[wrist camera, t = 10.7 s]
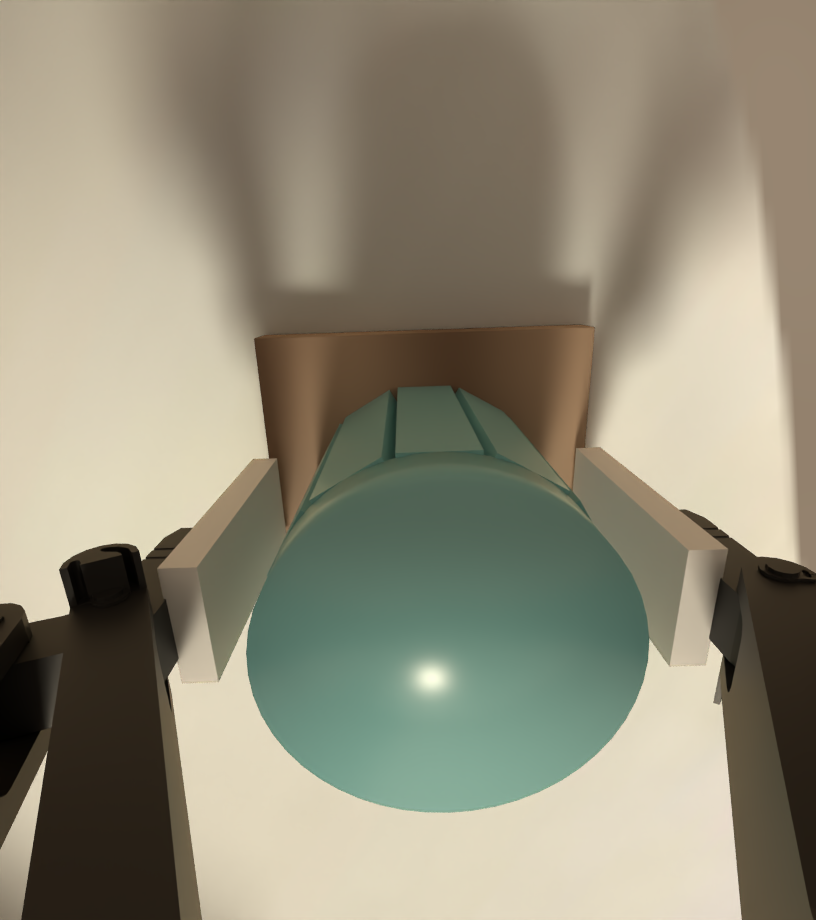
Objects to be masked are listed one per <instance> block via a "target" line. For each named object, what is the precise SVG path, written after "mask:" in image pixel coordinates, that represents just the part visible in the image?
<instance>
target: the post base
mask: <svg viewBox="0 0 816 920" xmlns="http://www.w3.org/2000/svg"><path fill="white" fill-rule="evenodd" d="M594 331H595V327H590V326H585V325H557V326H527V327H497V328H467V329H437V330H407V331H377V332H346V333H316V334H286V335H264V336H261V337H258V338H255V339H254V342H255V350H256V358H257V366H258V373H259V381H260V389H261V397H262V405H263V413H264V421H265V429H266V437H267V445H268V453H269V459H273V458H277V462H278V470H279V479H280V487H281V495H282V503H283V512H284V520H285V528H286V534H287V531H288V529H289V527H290V525H291V523H292V521H293V519H294V517H295V514H296V512H297V510H298V508H299V506H300V504H301V502H302V500H303V498H304V495H305V493H306V491H307V489H308V487H309V485H310V483H311V481H312V478H313V476H314V474H315V472H316V470H317V468H318V466H319V464H320V462H321V460H322V458H323V456H324V454H325V452H326V450H327V448H328V446H329V444H330V442H331V440H332V438H333V436H334V434H335V432H336V430H337V428H338V426H339V424H343V422H344V420H345V418H346V417H347V416H348V415H350V414H352V413H353V412H355V411H356V410H358V409H360V408H361V407H363V406H364V405H366V404H368V403H369V402H371V401H372V400H374V399H376V398H377V397H379V396H380V395H382V394H384V393H385V392H387V391H388V390H390V392H391V393H392V395H393V396H394V398H395V399H396V401H397V394H398V387H423V386H451V388H452V390H453V391H454V393H455V394H456V392H457V390H458V388H461V389H463V390H464V391H466V392H468V393H470V394H472V395H474V396H476V397H477V398H479V399H481V400H483V401H485V402H487V403H489V404H490V405H492V406H494V407H496V408H498V409H500V410H502V411H503V412H504V413H505V414H506V415H507V416H508V417H510V418H511V420H512V421H513V422H514V423H515V424H516V425H517V427H518V428H519V429H520V430H521V431H522V433H523V434H524V435H525V436H526V437H527V438H528V440H529V441H530V442H531V443H532V444H533V445H534V447H535V448H536V449H537V450H538V451H539V452H540V454H541V455H542V456H543V457H544V458H545V460H546V461H547V462H548V463H549V464H550V465H551V467H552V468H553V469H554V470H555V471H556V472H557V474H558V475H559V476H560V477H561V478H562V479H563V481H564V482H565V483H566V484H567V485H568V487H569V488H570V489H571V490H572V491H573V481H574V469H575V456H576V448H585V437H586V425H587V414H588V402H589V390H590V378H591V366H592V354H593V343H594Z"/></svg>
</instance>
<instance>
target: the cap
mask: <svg viewBox="0 0 816 920" xmlns="http://www.w3.org/2000/svg"><path fill="white" fill-rule="evenodd" d="M267 576H268V577H267V579H266V581H265V583H264V585H263V587H262V590H261V592H260V594H259V597H258V599H257V602H256V604H255V606H254V609H253V613H252V617H251V621H250V625H249V629H248V638H247V651H246V655H247V667H248V676H249V680H250V684H251V689H252V693H253V696H254V699H255V701H256V703H257V706H258V708H259V711H260V713H261V715H262V717H263V719H264V720H265V722H266V724H267V725H268V727H269V729H270V730H271V732H272V734H273V735H274V736H275V737H276V739H277V740H278V741H279V742H280V744H281V745H282V746H283V747H284V749H285V750H286V751H287V752H288V753H289V754H290V755H291V756H292V757H294V758H295V759H296V760H297V761H298V762H299V763H300V764H301V765H302V766H303V767H305V768H306V769H307V770H309V771H310V772H311V773H313V774H314V775H316V776H317V777H318V778H320V779H321V780H323V781H325V782H327V783H328V784H330V785H332V786H334V787H335V788H337V789H339V790H341V791H344V792H346V793H348V794H350V795H353V796H355V797H357V798H360V799H363V800H366V801H369V802H373V803H376V804H379V805H383V806H387V807H392V808H397V809H402V810H410V811H419V812H448V813H450V812H462V811H473V810H479V809H484V808H490V807H495V806H499V805H502V804H506V803H510V802H513V801H517V800H520V799H522V798H525V797H527V796H530V795H532V794H535V793H538V792H540V791H542V790H544V789H546V788H548V787H550V786H552V785H554V784H556V783H557V782H559V781H561V780H563V779H564V778H566V777H567V776H569V775H570V774H572V773H573V772H575V771H576V770H578V769H579V768H580V767H582V766H583V765H584V764H585V763H587V762H588V761H589V760H590V759H591V758H593V757H594V756H595V755H596V754H597V753H598V752H599V751H600V750H601V749H602V748H603V747H604V746H605V745H606V744H607V743H608V742H609V741H610V740H611V739H612V737H613V736H614V735H615V733H616V732H617V731H618V729H619V728H620V727H621V725H622V724H623V723H624V721H625V719H626V718H627V716H628V714H629V712H630V711H631V709H632V707H633V705H634V703H635V701H636V699H637V696H638V694H639V691H640V689H641V686H642V683H643V680H644V676H645V671H646V667H647V662H648V650H649V631H648V621H647V615H646V611H645V607H644V603H643V599H642V596H641V593H640V591H639V589H638V587H637V584H636V582H635V580H634V578H633V575H632V574H631V572H630V571H629V569H628V568H627V566H626V564H625V563H624V561H623V560H622V558H621V557H620V555H619V554H618V553H617V551H616V550H615V549H614V548H613V547H612V545H611V544H610V543H609V542H608V541H607V539H606V538H605V537H604V536H603V534H602V533H601V532H600V531H599V530H598V528H597V527H596V526H595V525H594V524H593V522H592V521H591V519H590V517H589V515H588V513H587V512H586V510H585V508H584V506H583V504H582V503H581V501H580V499H579V498H578V497H577V496H576V495H575V494H574V492H573V491H572V490H571V489H570V488H569V487H568V485H567V484H566V483H565V482H564V481H563V479H562V478H561V477H560V476H559V475H558V474H557V472H556V471H555V470H554V469H553V468H552V467H551V465H550V464H549V463H548V462H547V461H546V460H545V458H544V457H543V456H542V455H541V454H540V452H539V451H538V450H537V449H536V448H535V447H534V445H533V444H532V443H531V442H530V441H529V440H528V438H527V437H526V436H525V435H524V434H523V433H522V431H521V430H520V429H519V428H518V427H517V425H516V424H515V423H514V422H513V421H512V420H511V418H510V417H508V416H507V415H506V414H505V413H504V412H503V411H502V410H500V409H498V408H496V407H494V406H492V405H490V404H489V403H487V402H485V401H483V400H481V399H479V398H477V397H476V396H474V395H472V394H470V393H468V392H466V391H464V390H463V389H461V388H458V390H457V392H456V394H455V393H454V391H453V390H452V388H451V386H423V387H398V394H397V401H396V399H395V398H394V396H393V395H392V393H391V392H390V390H388V391H387V392H385V393H384V394H382V395H380V396H379V397H377V398H376V399H374V400H372V401H371V402H369V403H368V404H366V405H364V406H363V407H361V408H360V409H358V410H356V411H355V412H353V413H352V414H350V415H348V416H347V417H346V418H345V420H344V422H343V424H339V426H338V428H337V430H336V432H335V434H334V436H333V438H332V440H331V442H330V444H329V446H328V448H327V450H326V452H325V454H324V456H323V458H322V460H321V462H320V464H319V466H318V468H317V470H316V472H315V474H314V476H313V478H312V481H311V483H310V485H309V487H308V489H307V491H306V493H305V495H304V498H303V500H302V502H301V504H300V506H299V508H298V510H297V512H296V514H295V517H294V519H293V521H292V523H291V525H290V527H289V529H288V531H287V534H286V536H285V538H284V540H283V542H282V544H281V546H280V548H279V550H278V553H277V555H276V557H275V559H274V561H273V563H272V565H271V567H270V570H269V572H268V574H267Z"/></svg>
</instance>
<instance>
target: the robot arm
mask: <svg viewBox="0 0 816 920" xmlns="http://www.w3.org/2000/svg"><path fill="white" fill-rule="evenodd" d="M573 492H574V494H575V495H576V496H577V497H578V498H579V499H580V501H581V503H582V504H583V506H584V508H585V510H586V512H587V513H588V515H589V517H590V519H591V521H592V522H593V524H594V525H595V526H596V527H597V528H598V530H599V531H600V532H601V533H602V534H603V536H604V537H605V538H606V539H607V541H608V542H609V543H610V544H611V545H612V547H613V548H614V549H615V550H616V551H617V553H618V554H619V555H620V557H621V558H622V560H623V561H624V563H625V564H626V566H627V568H628V569H629V571H630V572H631V574H632V575H633V578H634V580H635V582H636V584H637V587H638V589H639V591H640V593H641V596H642V599H643V603H644V607H645V611H646V615H647V621H648V631H649V638H650V640H651V641H652V643H653V644H654V645H655V647H656V648H657V650H658V651H659V652H660V654H661V655H662V657H663V658H664V659H665V661H666V662H667V664H668V665H669V667H671V666H700V665H706V661H707V656H708V651H709V646H710V641H712V643H713V644H714V645H715V646H716V647H717V648H718V649H719V650H720V652H721V653H722V654H723V658H722V663H721V668H720V673H719V678H718V683H717V687H716V692H715V697H714V702H713V703H716V704H719V705H720V702H721V699H722V706H723V717H724V728H725V739H726V750H727V761H728V772H729V783H730V794H731V805H732V816H733V827H734V838H735V849H736V860H737V871H738V882H739V893H740V904H741V915H742V920H816V573H814V572H813V571H811V570H809V569H808V568H806V567H803V566H801V565H798V564H796V563H793V562H790V561H786V560H782V559H778V558H769V557H756V556H755V555H754V554H752V553H751V552H750V551H748V550H747V549H746V548H744V547H743V546H742V545H740V544H739V543H738V542H736V541H735V540H734V539H732V538H729V536H728V535H727V534H726V533H724V532H723V531H722V530H718V527H717V526H715V525H714V524H713V523H711V522H710V521H709V520H707V519H706V518H704V517H702V516H700V515H697V514H695V513H693V512H690V511H688V510H678V509H677V508H676V507H675V506H673V505H672V504H671V503H670V502H668V501H667V500H666V499H665V498H663V497H662V496H661V495H660V494H658V493H657V492H656V491H654V490H653V489H652V488H651V487H649V486H648V485H647V484H646V483H644V482H643V481H642V480H641V479H639V478H638V477H637V476H636V475H634V474H633V473H632V472H631V471H629V470H628V469H627V468H626V467H624V466H623V465H622V464H620V463H619V462H618V461H617V460H615V459H614V458H613V457H612V456H610V455H609V454H608V453H607V452H605V451H604V450H603V449H602V448H600V447H596V448H576V456H575V469H574V481H573ZM285 536H286V528H285V520H284V512H283V503H282V495H281V487H280V479H279V470H278V462H277V458H273V459H253V460H252V461H251V462H250V463H249V464H248V465H247V467H246V468H245V469H244V470H243V471H242V472H241V473H240V475H239V476H238V477H237V478H236V479H235V480H234V481H233V483H232V484H231V485H230V486H229V487H228V488H227V489H226V491H225V492H224V493H223V494H222V495H221V496H220V497H219V499H218V500H217V501H216V502H215V503H214V504H213V505H212V507H211V508H210V509H209V510H208V511H207V512H206V513H205V515H204V516H203V517H202V518H201V519H200V520H199V521H198V522H197V524H196V525H195V526H194V527H193V528H181V529H179V530H177V531H175V532H174V533H172V534H170V535H168V536H167V537H165V538H164V539H163V540H162V541H161V542H160V543H159V544H158V545H157V546H156V547H155V548H154V550H153V551H151V552H150V553H149V554H148V555H147V557H146V559H144V560H143V561H142V562H141V557H140V553H139V550H138V549H137V547H136V546H133V545H130V544H110V545H103V546H99V547H96V548H92V549H89V550H86V551H84V552H81V553H79V554H77V555H75V556H73V557H71V558H70V559H68V560H67V561H66V562H64V563H63V565H62V566H61V568H60V569H59V571H60V575H61V578H62V581H63V585H64V588H65V592H66V595H67V599H68V602H69V606H70V612H69V614H68V615H65V616H61V617H56V618H51V619H46V620H41V621H37V622H32V623H29V622H28V619H27V616H26V613H25V610H24V609H23V608H22V606H21V605H17V604H13V603H8V604H0V849H1V847H2V845H3V843H4V840H5V838H6V836H7V834H8V832H9V830H10V828H11V826H12V824H13V822H14V820H15V818H16V815H17V813H18V811H19V809H20V807H21V805H22V803H23V801H24V799H25V797H26V795H27V793H28V790H29V788H30V786H31V784H32V782H33V780H34V778H35V776H36V774H37V772H38V770H39V767H40V765H41V763H42V761H43V759H44V757H45V755H46V753H47V751H48V753H47V759H46V765H45V772H44V778H43V784H42V791H41V797H40V804H39V810H38V816H37V823H36V829H35V836H34V842H33V848H32V855H31V861H30V867H29V874H28V880H27V887H26V893H25V899H24V906H23V912H22V919H21V920H202V917H201V910H200V902H199V895H198V887H197V880H196V872H195V865H194V858H193V850H192V843H191V835H190V828H189V820H188V813H187V805H186V798H185V791H184V783H183V776H182V768H181V761H180V753H179V746H178V738H177V731H176V724H175V716H174V709H173V701H172V694H171V689H170V684H169V680H168V675H169V674H170V672H171V670H172V669H173V667H174V665H175V664H176V662H178V667H179V671H180V676H181V681H182V683H209V682H219V680H220V678H221V676H222V674H223V671H224V669H225V667H226V665H227V663H228V661H229V658H230V656H231V654H232V652H233V650H234V648H235V646H236V643H237V641H238V639H239V637H240V635H241V633H242V631H243V628H244V626H245V624H246V622H247V620H248V618H249V616H250V613H251V611H252V609H253V607H254V605H255V603H256V601H257V598H258V596H259V594H260V592H261V590H262V587H263V585H264V583H265V581H266V579H267V577H268V576H267V574H268V572H269V570H270V567H271V565H272V563H273V561H274V559H275V557H276V555H277V553H278V550H279V548H280V546H281V544H282V542H283V540H284V538H285Z"/></svg>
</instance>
